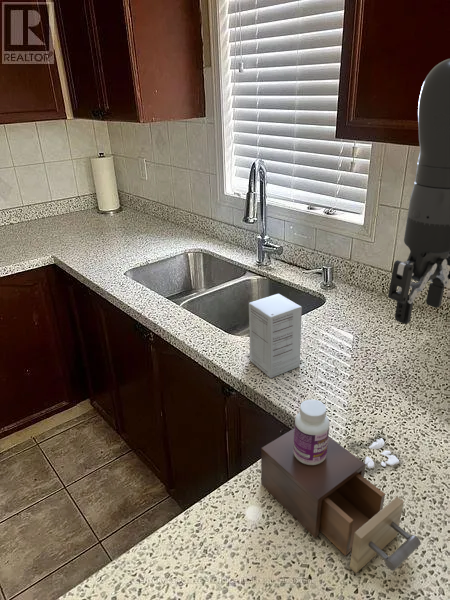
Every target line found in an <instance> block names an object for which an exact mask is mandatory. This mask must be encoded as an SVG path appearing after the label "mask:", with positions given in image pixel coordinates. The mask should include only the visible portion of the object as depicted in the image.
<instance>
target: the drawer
mask: <svg viewBox="0 0 450 600" xmlns="http://www.w3.org/2000/svg"><path fill="white" fill-rule="evenodd" d="M385 497H386V493H384V491H382V490H381V489H380V488H378V487H377V486H375V485H374V484H373V483H372V482H370V480H368V479H367V478H365V476H364V477H363V476H361V475H360V474H359V473H358V474H356V475H355V476H354V477H352V478H351V479H350V480H348V481H347V482H346V483H344V484H343V485H342V486H340V487H339V488H338V489H336V490H335V491H334V492H332V493H331V494H330V495H328V496H327V497H326V498H324V499H323V500H322V504H321V515H320V527H319V533H321V534H322V535H323V536H324V537H325V538H326V539H327V540H328V541H329V542H330V543H332V544H333V546H335V547H336V549H337V550H338V551H340V552H341V553H342V554H343V555H344V556H345V557H346V556H347V555H348V554H349V553H351V555H350V561H349V562H350V563H349V569H350V570H352V571H353V572H354V573H355V574H357V573H358V572H360V571H361V569H363V568H364V567H365V566H366V565H367V564H368V563H370V562H371V560H372V559H374V558H375V557H376V556H377V555H378V556H379V557H380V558H381V559H382V560H383V561H384V564H385V565H386V568H387V569H389V570H390V571H392V572H395V571H396V570H397V569H398V568H399V567H400V566H401V565H402V564H403V563H404V562H405V561H406V560H407V559H408V558H409V557H410V556H411V555H412V554H413V553H414V552H415V551H416V550H417V549H418V548H420V546H421V544H422V542H421V540H420V538H419V537H417V535H415V534H412V535H410V534H409V533H408V532H406V531H405V530H404V529H403V528H402V527H401V526H400V523H401V517H402V513H403V508H404V503H405V501H404V500H402V499H401V498H400V497H399V496H395V497H394V498H393V499H391V500H390V502H388V503H387V504H386V505H385V506H384V503H385ZM398 535H400V536H401V537H402V538H404V539H405V541H404V542H403V543H402V544H401V545H400V546H399V547H398V548H396V550H394V552H392V553H391V554H390V555H388V554H387V553H386V552H385V551H383V549H385V548H386V546H388V545H389V544H390V543H391V542H392V541H393V540H394V539H395V538H397V536H398Z"/></svg>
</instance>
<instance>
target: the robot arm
mask: <svg viewBox="0 0 450 600" xmlns="http://www.w3.org/2000/svg"><path fill="white" fill-rule="evenodd" d="M417 108H418V109H417V122H418V123H417V124H418V142H419V154H418V158H417V164H416V171H415V178H414V183H413V188H412V191H411V195H410V198H409V203H408V211H407V218H406V224H405V231H404V235H403V236H404V238H403V243H404V245H405V246H407V248H408V249H409V255H408V257H407V260H406V261H401V260H398V259H397V260H395V261H394V263H393V267H392V273H391V277H390V282H389V283H390V284H389V289H388V295H387V296H388V299H391V300H394V301H396V306H395V313H394V319H395V321H396V322H399V323H401V324H403V325H407V324H409V323H410V322H411V318H412V312H413V305H414V301H415V299H416V297H417V295H418V293H419V292H422V291H424V288H425V287H426V285H427V283H428V282H431V283H429V284H428V291H427V296H426V300H425V304H426V305H428V306H430V307H433V308H435V309H438V308H439V307H441V306H442V302H443V298H444V292H445V288H446V287H447V286H448V284H449V282H450V270H449V268H448V266H449V267H450V58H447V59H445V60H443V61H441V62H438V64H436V65H435V66H434V67H433V68H432V69H431V70H430V71H429V72H428V74H427V75H426V77H425V79H424V81H423V83H422V86H421V89H420V94H419V98H418V106H417ZM412 280H413V281H412ZM415 281H416V282H415ZM410 289H411V290H410Z"/></svg>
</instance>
